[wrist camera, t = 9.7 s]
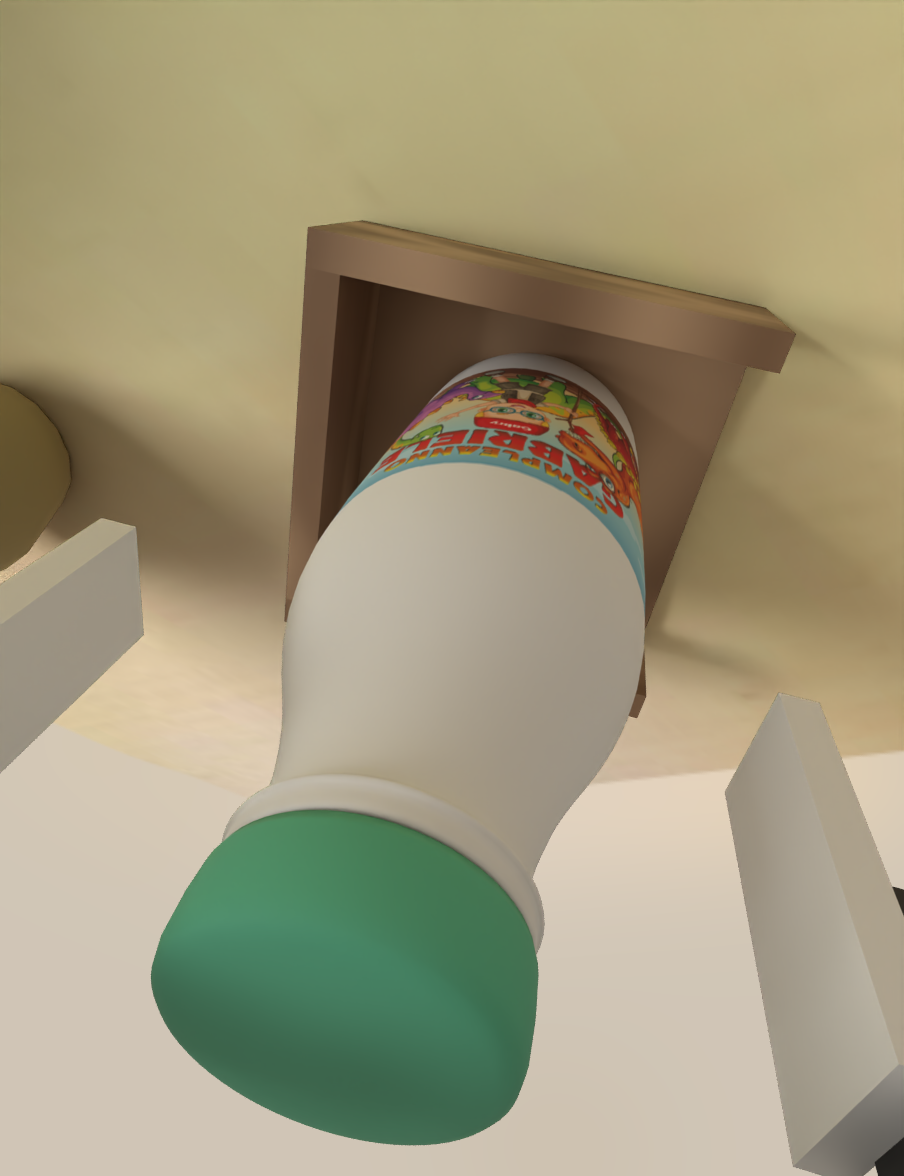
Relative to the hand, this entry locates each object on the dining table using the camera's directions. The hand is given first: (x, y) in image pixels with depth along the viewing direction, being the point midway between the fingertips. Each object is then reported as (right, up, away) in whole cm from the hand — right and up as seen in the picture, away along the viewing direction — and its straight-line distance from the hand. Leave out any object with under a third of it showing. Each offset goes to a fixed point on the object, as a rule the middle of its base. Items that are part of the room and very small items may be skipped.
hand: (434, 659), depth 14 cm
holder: (+3, +6, +11) cm, 13 cm away
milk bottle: (+3, +6, +11) cm, 13 cm away
